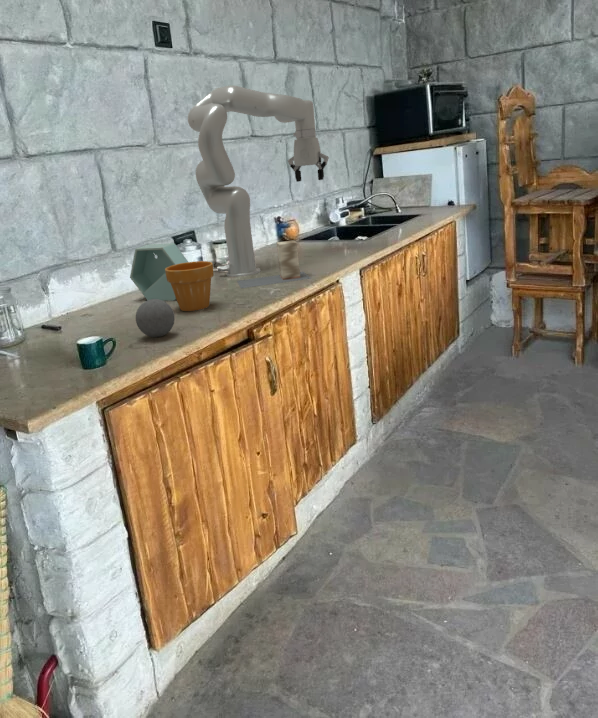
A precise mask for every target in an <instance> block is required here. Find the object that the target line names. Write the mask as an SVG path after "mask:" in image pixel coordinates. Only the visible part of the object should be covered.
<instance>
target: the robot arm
mask: <svg viewBox="0 0 598 718" xmlns="http://www.w3.org/2000/svg"><path fill="white" fill-rule="evenodd" d="M314 109H315V108H314V103H313V101H312V100H309V99H307V100H306V99H305V100H304V99H302V98H299V97H296V96H292V95H287V94H279V93H272V92H265V91H259V90H254V89H251V88H246V87H243V86H238V85H231V84H230V85H225V86H221V87H217V88H214V89H213V90H211V91H210V92H208V94H206V95H205V96H204V97H203V98H202V99H201V100H200V101H199V102H197V103H196V104H195V105H194V106H192V108H191V109H190V110H189V112H188V114H187V124H188V126H189V127H190V128H191V129H192V130H193V131H195V132H197V133H199V134H198V139H197V144H198V146H197V147H198V150H199V153H200V156H201V158H202V160H201V161H200V162H199V163H198V164H197V165H196V168H195V179H196V182H197V184H198V186H199V189H200V190H201V193H202V195H203V197H204V199H205V201H206V203H207V206H208V207H209V208H210V209H211V211H212V212H213V213H216V214H225V218H224V233H225V234H224V235H225V242H226V248H227V255H228V262H227V264H225V265H219V266H217V267H216V268H217V272H218V273H219V272H226V276H227V277H234V278H235V277H244V276H251V275H255V274H258V273H260V272H261V268H260V267H257V266H256V260H255V252H254V250H255V249H254V245H253V244H254V242H253V235H252V233H253V232H252V227H251V216H250V213H251V197H250V194H249V192H248V191H247V190H246V189H245V188H244V187H243V188H242V187H240V186H233V185H232V186H229V185H230V184H233V182H234V181H235V178H236V174H235V173H236V172H235V170H234V167H233V164H232V162H231V160H230V157H229V155H228V153H227V151H226V147H225V146H224V141H223V132H224V129H225V127H226V125H227V121H228V113H229V112H232V113H240V114H244V115H248V116H253V117H257V118H268V117H274V118H275V120H276V121H278V122H280V123H282V124H283V123H284V124H286V123H293V122H294V127H295V132H293V134H292V135H293V137H294V138H295V139H294V143H293V155H292V157H290V158H289V159H288V160H287V162H288V164H289V167H290V168H291V169H292V170H293V172H294V177H295V180H296V182H302V171H301V168H302V167H304V166H315V167H317V168H318V169H317V178H318V181H322V180H324V177H325V173H324V169H325V167H326V166H327V164H328V161H329V159H330V157H329V156H328V155H325V154H324V153H322V152H321V147H320V143H319V139H318V137H317V134H316V123H315V122H316V121H315V111H314ZM322 159H323V161H322Z"/></svg>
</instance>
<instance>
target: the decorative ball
mask: <svg viewBox="0 0 598 718" xmlns="http://www.w3.org/2000/svg"><path fill="white" fill-rule="evenodd" d="M175 321H176V320H175V313H174V310H173V307H172V306H170V304H168V303H167V302H166V301H162V300H159V299H151V300H147V299H146V300H145V301H144V302H142V303H141V304H140V305H139V307H138V309H136V313H135V323H136V326H137V327H138V329H139V330H140V332H141V333H142V334H143V335H145V336H147V337H151V338H159V337H164V336H165V335H167V334H168V333H169V332H170V331H171V330H172V329H173V326H174V325H175Z"/></svg>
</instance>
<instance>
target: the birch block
mask: <svg viewBox="0 0 598 718" xmlns="http://www.w3.org/2000/svg"><path fill="white" fill-rule="evenodd" d="M276 250H277V257H278V267H279V275H280V277H281V278H282V279H283V280H287V279H294V278H300V272H301V270H300V269H301V268H300V261H299V260H300V259H299V252H298V251H299V250H298V242H297V241H296V240H288V241H287V240H286V241H279V242H278V241H277V242H276Z"/></svg>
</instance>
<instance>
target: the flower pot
mask: <svg viewBox="0 0 598 718" xmlns="http://www.w3.org/2000/svg"><path fill="white" fill-rule="evenodd" d="M165 272H166V278H167V281H168V282H170V283H171V286H172V288H173V291H174V294H175V297H176V301H177V302H176V303H177V304H178V307H179V309H180V310H181V311H182V312H183V311H184V312H194V311H195V310H196V311H199V310H204V308H205V309H206V308H207V309H208V308H209V306H210V301H211V288H212V286H211V285H212V278H213V277H214V274H215V273H214V264H213V262H211V261H206V260H201V261H200V260H199V261H188V262H186V263H180V264H176V265H172V266H169V267H167V268H166V269H165Z"/></svg>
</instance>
